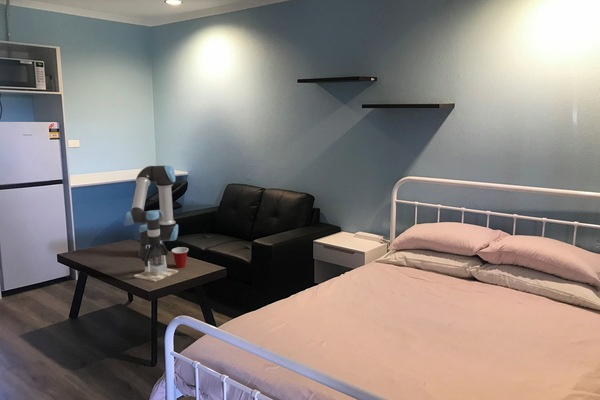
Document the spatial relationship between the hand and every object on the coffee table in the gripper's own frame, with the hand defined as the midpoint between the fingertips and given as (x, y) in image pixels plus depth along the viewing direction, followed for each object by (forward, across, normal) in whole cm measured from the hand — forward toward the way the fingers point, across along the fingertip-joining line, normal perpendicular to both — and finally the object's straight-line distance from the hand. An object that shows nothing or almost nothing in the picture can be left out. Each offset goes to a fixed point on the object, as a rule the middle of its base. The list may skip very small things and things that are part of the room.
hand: (155, 268), depth 298 cm
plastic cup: (+4, +19, -3) cm, 20 cm away
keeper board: (+4, 0, 0) cm, 4 cm away
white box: (+3, 0, 0) cm, 3 cm away
